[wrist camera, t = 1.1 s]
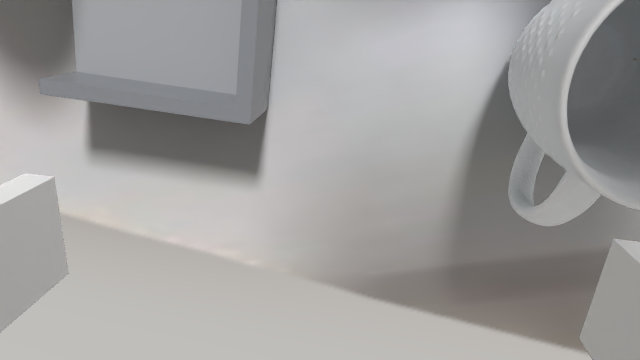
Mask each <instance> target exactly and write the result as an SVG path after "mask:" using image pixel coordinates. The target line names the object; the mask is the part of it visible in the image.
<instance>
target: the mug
mask: <svg viewBox="0 0 640 360" xmlns="http://www.w3.org/2000/svg"><path fill="white" fill-rule="evenodd" d="M508 76H509V77H508V84H509V86H508V88H509V92H510V98H511V100H512V105H513V107H514V110H515V111H516V114H517V117H518V118H519V120H520V121H521V124H522V126H523V127H524V129H525V130H526V131H527V134H526V137H525V139H524V141H523V143H522V145H521V147H520V149H519V151H518V153H517V156H516V159H515V161H514V164H513V167H512V171H511V174H510V179H509V186H508V196H509V200H510V203H511V206H512V208H513V209H514V210H515V212H516V213H517V214H518V215H520V216H521V217H522V218H524V219H525V220H527V221H529V222H531V223H534V224H537V225H541V226H557V225H561V224H564V223H566V222H568V221H570V220H572V219H574V218H575V217H577V216H579V215H580V214H582V213H583V212H584V211H586V210H587V209H588V208H589V207H590V206H592V205H593V204H594V203H595V202H596V200H597V199H598V198H599V197H600V196H601V195H602V196H604V197H606V198H608V199H609V200H611V201H613V202H615V203H618V204H620V205H623V206H626V207H629V208H632V209H636V210H640V0H552V1H551V2H550V3H549V4H548V5H546V6H545V7H543V8H542V9H541V10H540V12H539V13H538V14H537V15H535V16H534V17H533V19H532V20H531V21H530V22H529V24H528V25H526V28H525V29H524V30H523V32H522V34H521V36H520V37H519V38H518V41H517V42H516V45H515V48H514V49H513V51H512V56H511V58H510V63H509V71H508ZM545 153H546V155H548V156H550V157H551V158H552V159H553V160H554V161H555V162H556V163H557V164H559V165H560V166H562V167H564V169H565V170H566V172H565V173H564V175H563V176H562V178H561V180H560V181H559V183H558V185H557V186H556V188H555V189H554V191H553V192H552V193H551V194H550V196H549V197H548V198H547V199H546V200H545V201H544V202H543V203H541V204H538V205H537V206H535V204H534V199H533V193H534V186H535V180H536V176H537V173H538V170H539V167H540V164H541V162H542V159H543V157H544V155H545Z"/></svg>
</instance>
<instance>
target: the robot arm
mask: <svg viewBox="0 0 640 360" xmlns="http://www.w3.org/2000/svg"><path fill="white" fill-rule="evenodd" d="M68 274H69V273H68V265H67V259H66V252H65V245H64V238H63V232H62V225H61V218H60V212H59V205H58V198H57V191H56V185H55V178H54V177H51V176H42V175H33V174H23V175H21V176H18V177H16V178H14V179H12V180H10V181H8V182H6V183H3V184H1V185H0V333H1V332H2V331H3V330H4V329H5V328H6V327H7V326H9V325H10V324H11V323H12V322H13V321H14V320H16V319H17V318H18V317H19V316H20V315H21V314H22V313H23V312H25V311H26V310H27V309H28V308H29V307H31V306H32V305H33V304H34V303H35V302H36V301H38V300H39V299H40V298H41V297H42V296H43V295H44V294H46V293H47V292H48V291H49V290H50V289H51V288H53V287H54V286H55V285H56V284H57V283H58V282H59V281H61V280H62V279H63V278H64V277H65V276H66V275H68ZM579 339H580V341H581V342H582V344H583V346H584V347H585V349H586V350H587V352H588V353H589V355H590V357H591V358H592V360H640V241H631V240H622V239H613V241H612V244H611V247H610V250H609V252H608V255H607V258H606V261H605V264H604V267H603V270H602V273H601V276H600V279H599V282H598V284H597V287H596V290H595V293H594V296H593V299H592V302H591V305H590V308H589V311H588V314H587V316H586V319H585V322H584V325H583V328H582V331H581V334H580V337H579Z"/></svg>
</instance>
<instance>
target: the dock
mask: <svg viewBox="0 0 640 360" xmlns="http://www.w3.org/2000/svg"><path fill="white" fill-rule="evenodd" d="M276 6H277V0H72V13H73V28H74V44H75V60H76V72H72V73H67V74H61V75H56V76H50V77H45V78H39V87H40V94H44V95H50V96H57V97H64V98H71V99H78V100H85V101H91V102H98V103H105V104H112V105H119V106H126V107H132V108H139V109H146V110H153V111H160V112H167V113H173V114H180V115H187V116H194V117H201V118H208V119H214V120H221V121H228V122H235V123H242V124H249V125H250V124H251V123H252V122H253V121H255V120H256V119H257V118H258V117H259V116H260V115H261V114H262V113H263V112H265V111H266V110H267V109H268V101H269V89H270V77H271V65H272V53H273V41H274V29H275V18H276Z"/></svg>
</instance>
